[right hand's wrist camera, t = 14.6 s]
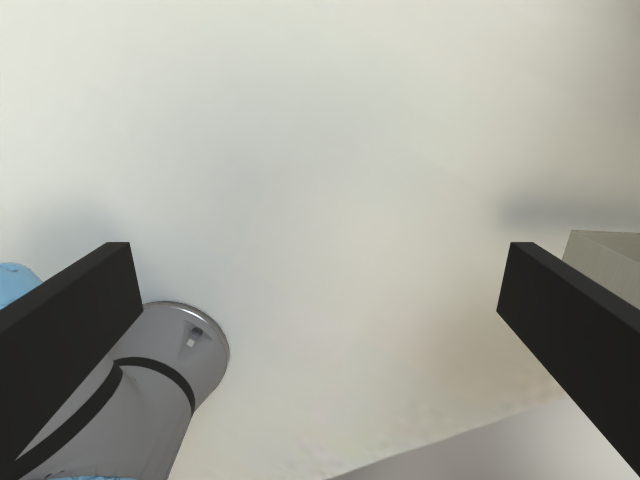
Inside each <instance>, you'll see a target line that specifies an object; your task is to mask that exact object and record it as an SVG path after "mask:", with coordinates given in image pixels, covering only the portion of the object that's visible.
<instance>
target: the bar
mask: <svg viewBox="0 0 640 480" xmlns="http://www.w3.org/2000/svg"><path fill="white" fill-rule="evenodd" d="M562 261H563V262H565V263H567V264H568V265H570V266H571V267H573V268H574V269H576V270H578V271H579V272H581V273H582V274H584V275H586V276H587V277H589V278H590V279H592V280H593V281H595V282H597V283H598V284H600V285H601V286H603V287H604V288H606V289H608V290H609V291H611V292H612V293H614V294H615V295H617V296H619V297H620V298H622V299H623V300H625V301H627V302H628V303H630V304H631V305H633V306H634V307H636V308H638V309H639V310H640V233H623V232H601V231H579V230H572V231H571V233H570V236H569V239H568V243H567V246H566V249H565V252H564V255H563V258H562Z"/></svg>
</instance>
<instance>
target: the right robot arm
mask: <svg viewBox="0 0 640 480" xmlns="http://www.w3.org/2000/svg"><path fill="white" fill-rule="evenodd" d="M496 311H497V313H498V314H499V315H500V316H501V317H502V318H503V320H504V321H505V322H506V323H507V324H508V325H509V327H510V328H511V329H512V330H513V331H514V332H515V333H516V335H517V336H518V337H519V338H520V339H521V340H522V342H523V343H524V344H525V345H526V346H527V347H528V349H529V350H530V351H531V352H532V353H533V354H534V355H535V357H536V358H537V359H538V360H539V361H540V362H541V364H542V365H543V366H544V367H545V368H546V369H547V371H548V372H549V373H550V374H551V375H552V376H553V377H554V379H555V380H556V381H557V382H558V383H559V384H560V386H561V387H562V388H563V389H564V390H565V391H566V392H567V394H568V395H569V396H570V397H571V398H572V399H573V401H574V402H575V403H576V404H577V405H578V406H579V408H580V409H581V410H582V411H583V412H584V413H585V414H586V416H587V417H588V418H589V419H590V420H591V421H592V423H593V424H594V425H595V426H596V427H597V428H598V430H599V431H600V432H601V433H602V434H603V435H604V436H605V438H606V439H607V440H608V441H609V442H610V443H611V445H612V446H613V447H614V448H615V449H616V450H617V451H618V453H619V454H620V455H621V456H622V457H623V458H624V460H625V461H626V462H627V463H628V464H629V465H630V467H631V468H632V469H633V470H634V471H635V472H636V473H637V475H638V476H639V477H640V310H639V309H638V308H636V307H634V306H633V305H631V304H630V303H628V302H627V301H625V300H623V299H622V298H620V297H619V296H617V295H615V294H614V293H612V292H611V291H609V290H608V289H606V288H604V287H603V286H601V285H600V284H598V283H597V282H595V281H593V280H592V279H590V278H589V277H587V276H586V275H584V274H582V273H581V272H579V271H578V270H576V269H574V268H573V267H571V266H570V265H568V264H567V263H565V262H563V261H562V260H560V259H559V258H557V257H556V256H554V255H552V254H551V253H549V252H548V251H546V250H544V249H543V248H541V247H540V246H538V245H537V244H535V243H533V242H511V243H510V248H509V253H508V257H507V262H506V267H505V272H504V277H503V281H502V286H501V291H500V296H499V301H498V305H497V310H496ZM228 362H229V346H228V343H227V340H226V337H225V335H224V333H223V332H222V330H221V329H220V327H219V326H218V325H217V324H216V323H215V322H214V321H213V320H212V319H211V318H210V317H209V316H207V315H206V314H205V313H203V312H201V311H200V310H198V309H196V308H194V307H191V306H189V305H186V304H182V303H178V302H171V301H158V302H152V303H147V304H144V305H142V301H141V296H140V291H139V286H138V281H137V277H136V272H135V267H134V262H133V257H132V253H131V248H130V243H129V242H107V243H105V244H103V245H102V246H100V247H99V248H97V249H96V250H94V251H92V252H91V253H89V254H88V255H86V256H84V257H83V258H81V259H80V260H78V261H77V262H75V263H73V264H72V265H70V266H69V267H67V268H66V269H64V270H62V271H61V272H59V273H58V274H56V275H54V276H53V277H51V278H50V279H48V280H47V281H45V282H42V281H41V280H40V279H39V278H38V277H37V276H36V275H35V274H34V273H33V272H32V271H31V270H30V269H29V268H27V267H25V266H23V265H21V264H17V263H0V480H167V479H168V476H169V474H170V471H171V468H172V466H173V463H174V461H175V458H176V456H177V453H178V451H179V448H180V446H181V443H182V441H183V438H184V436H185V433H186V431H187V428H188V426H189V423H190V420H191V418H192V416H193V413H194V411H195V410H196V409H197V408H198V407H199V406H200V405H201V404H202V403H203V401H204V400H205V399H206V398H207V397H208V396H209V395H210V393H211V392H212V391H214V390H215V389H216V387H217V386H218V385H219V383H220V381H221V379H222V378H223V376H224V374H225V371H226V368H227V365H228Z"/></svg>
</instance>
